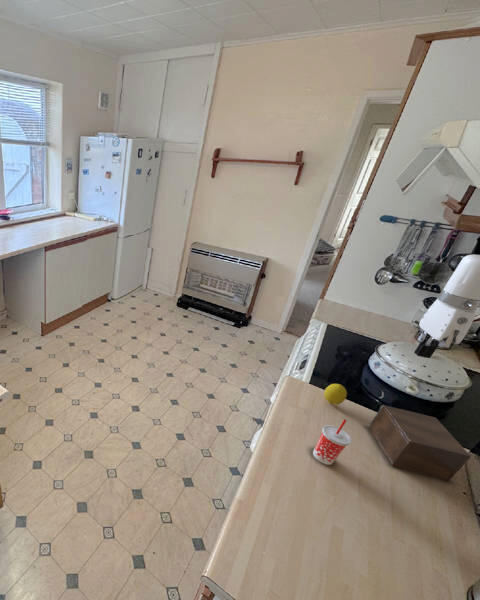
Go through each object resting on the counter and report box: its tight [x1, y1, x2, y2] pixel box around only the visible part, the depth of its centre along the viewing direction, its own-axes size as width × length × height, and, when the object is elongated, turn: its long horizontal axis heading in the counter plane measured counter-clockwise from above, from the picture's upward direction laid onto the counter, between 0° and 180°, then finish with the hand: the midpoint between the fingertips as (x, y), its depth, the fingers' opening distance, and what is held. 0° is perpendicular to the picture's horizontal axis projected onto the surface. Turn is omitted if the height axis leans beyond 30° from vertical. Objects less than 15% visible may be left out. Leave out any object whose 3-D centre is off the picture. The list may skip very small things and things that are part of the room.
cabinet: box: [368, 404, 472, 482], centre depth 89 cm, size 14×13×10 cm
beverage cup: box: [312, 419, 352, 466], centre depth 85 cm, size 6×6×14 cm
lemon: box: [323, 383, 348, 405], centre depth 106 cm, size 6×6×8 cm
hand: (421, 355), depth 95 cm, fingers closed
